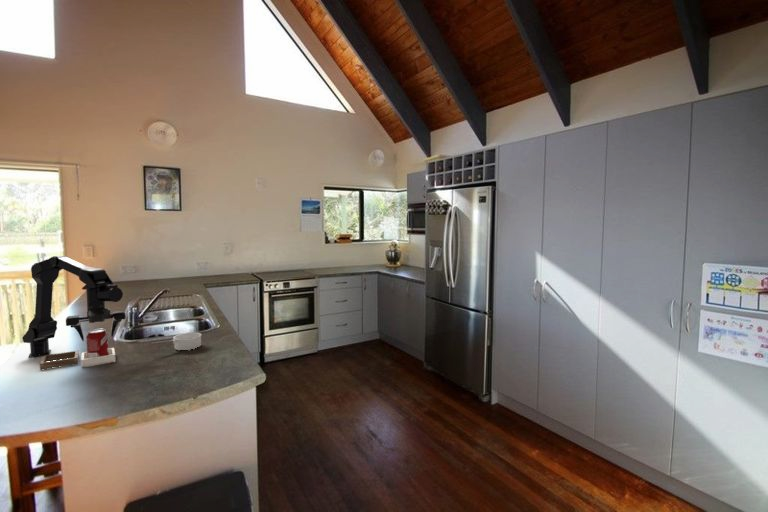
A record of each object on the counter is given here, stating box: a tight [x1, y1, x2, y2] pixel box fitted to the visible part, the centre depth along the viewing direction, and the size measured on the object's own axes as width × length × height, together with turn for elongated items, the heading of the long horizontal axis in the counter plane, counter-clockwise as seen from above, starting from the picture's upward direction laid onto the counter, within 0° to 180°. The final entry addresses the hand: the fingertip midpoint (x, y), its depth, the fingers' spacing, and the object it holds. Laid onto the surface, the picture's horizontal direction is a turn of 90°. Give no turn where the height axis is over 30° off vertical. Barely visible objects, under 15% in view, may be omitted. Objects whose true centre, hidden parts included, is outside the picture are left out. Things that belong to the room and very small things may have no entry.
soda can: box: [85, 328, 109, 358], centre depth 148 cm, size 7×7×12 cm
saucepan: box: [151, 332, 203, 351], centre depth 163 cm, size 12×20×6 cm, turn 138°
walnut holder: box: [39, 350, 80, 371], centre depth 146 cm, size 11×11×2 cm
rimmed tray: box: [80, 347, 116, 368], centre depth 149 cm, size 11×11×3 cm
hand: (97, 338), depth 148 cm, fingers open, 9 cm apart
